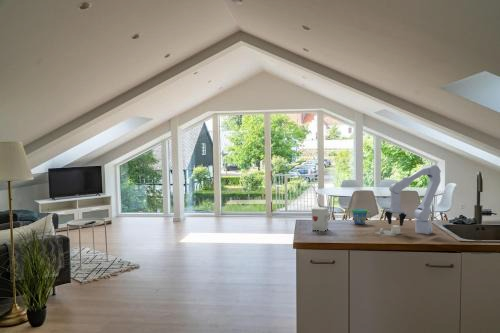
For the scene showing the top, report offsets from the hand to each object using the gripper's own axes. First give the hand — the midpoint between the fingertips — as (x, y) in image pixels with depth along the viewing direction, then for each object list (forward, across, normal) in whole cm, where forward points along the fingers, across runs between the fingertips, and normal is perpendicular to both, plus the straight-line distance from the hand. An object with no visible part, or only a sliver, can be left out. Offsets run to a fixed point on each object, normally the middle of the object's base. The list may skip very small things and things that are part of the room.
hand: (395, 224), depth 265 cm
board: (+7, -3, -3) cm, 8 cm away
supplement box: (+7, -45, -17) cm, 49 cm away
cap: (+5, 0, 0) cm, 5 cm away
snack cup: (+7, -39, +21) cm, 45 cm away
